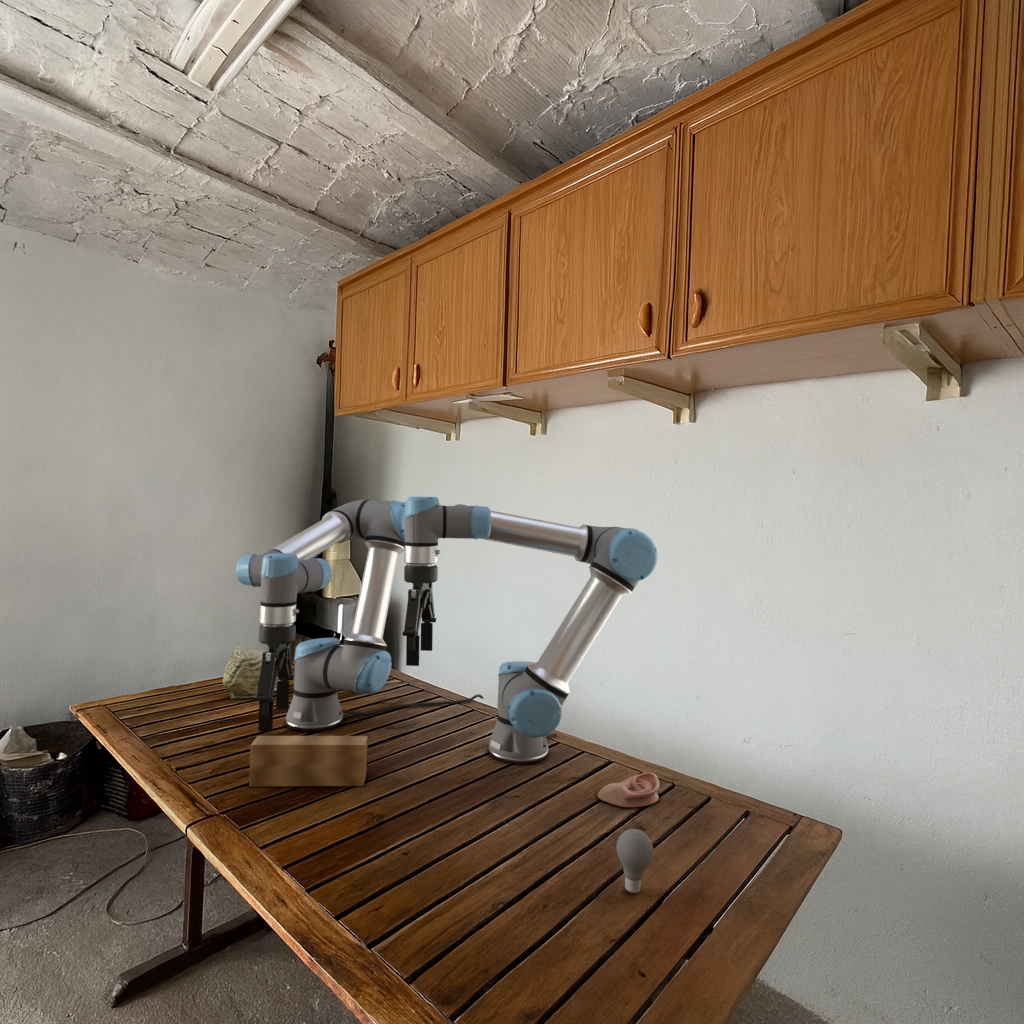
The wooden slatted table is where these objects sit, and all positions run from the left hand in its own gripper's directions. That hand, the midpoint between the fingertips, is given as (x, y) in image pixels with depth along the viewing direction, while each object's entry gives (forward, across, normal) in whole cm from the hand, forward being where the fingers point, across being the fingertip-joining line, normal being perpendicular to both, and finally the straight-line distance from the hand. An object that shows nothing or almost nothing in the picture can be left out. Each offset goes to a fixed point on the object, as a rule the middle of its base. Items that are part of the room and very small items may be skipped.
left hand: (274, 719), depth 140 cm
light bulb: (+14, -42, -69) cm, 82 cm away
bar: (+14, 0, -8) cm, 16 cm away
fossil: (+14, +61, +22) cm, 66 cm away
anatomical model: (+14, -8, -78) cm, 80 cm away
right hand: (-14, +1, -31) cm, 34 cm away
